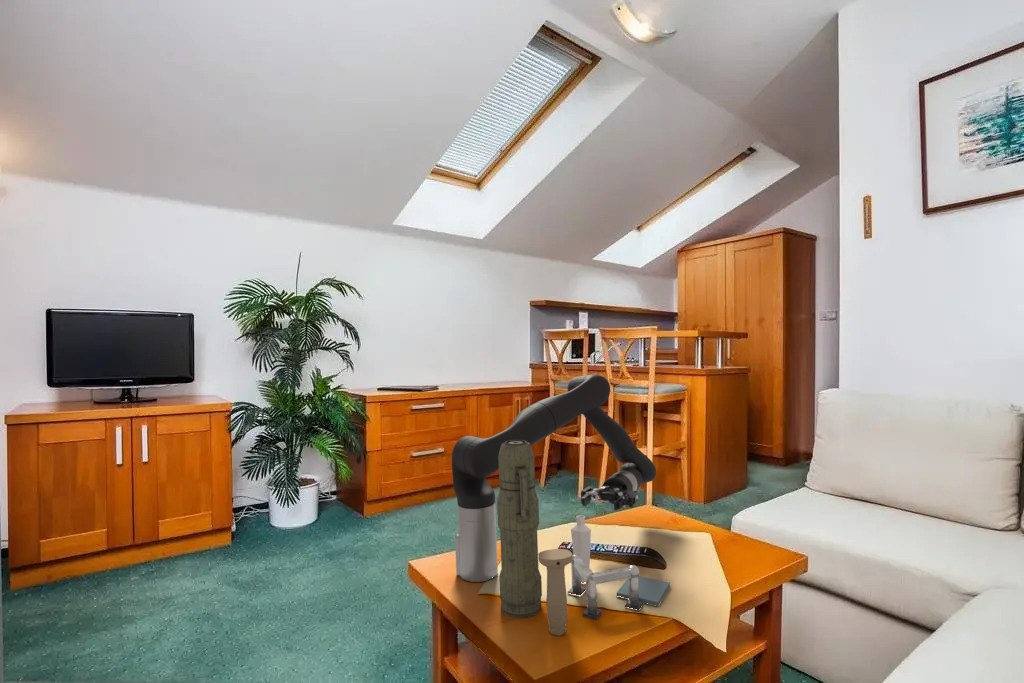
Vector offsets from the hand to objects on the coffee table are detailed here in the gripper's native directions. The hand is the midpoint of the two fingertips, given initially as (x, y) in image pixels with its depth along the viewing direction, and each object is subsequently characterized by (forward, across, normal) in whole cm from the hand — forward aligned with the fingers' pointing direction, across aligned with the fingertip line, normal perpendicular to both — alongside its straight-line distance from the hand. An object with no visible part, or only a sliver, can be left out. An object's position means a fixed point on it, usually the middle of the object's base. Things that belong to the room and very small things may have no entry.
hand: (599, 504), depth 131 cm
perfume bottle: (+12, 0, +15) cm, 19 cm away
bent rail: (+21, +7, +14) cm, 27 cm away
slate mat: (+11, +14, +14) cm, 23 cm away
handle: (+34, +4, +14) cm, 37 cm away
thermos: (+29, -7, +14) cm, 33 cm away
